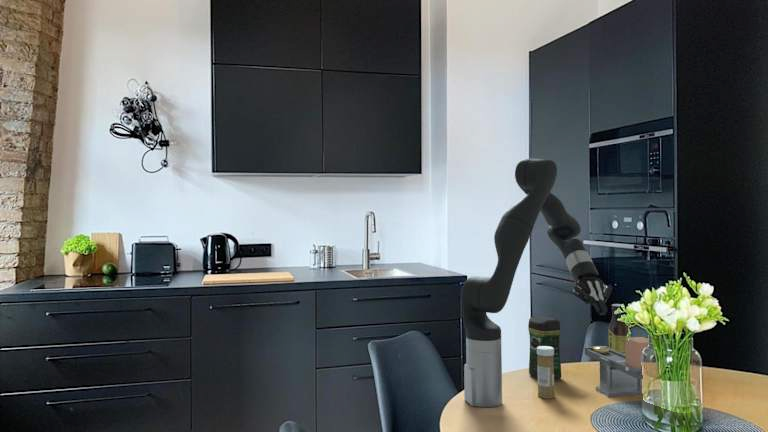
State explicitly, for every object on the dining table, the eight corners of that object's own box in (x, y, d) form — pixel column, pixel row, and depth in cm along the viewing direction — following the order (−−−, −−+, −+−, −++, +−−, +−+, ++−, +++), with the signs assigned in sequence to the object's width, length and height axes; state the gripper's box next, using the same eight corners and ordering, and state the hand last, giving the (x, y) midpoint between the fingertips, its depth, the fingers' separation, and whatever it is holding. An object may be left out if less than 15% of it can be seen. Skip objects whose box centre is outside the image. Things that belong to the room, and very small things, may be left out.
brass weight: (598, 355, 164) (598, 349, 164) (590, 351, 168) (590, 346, 168) (612, 354, 165) (612, 348, 165) (603, 350, 169) (603, 345, 169)
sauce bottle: (611, 361, 189) (611, 302, 189) (631, 364, 186) (630, 304, 186) (606, 365, 184) (605, 305, 184) (627, 368, 180) (626, 306, 180)
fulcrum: (607, 396, 152) (607, 361, 152) (595, 390, 158) (595, 356, 158) (647, 394, 155) (647, 359, 155) (634, 387, 160) (634, 354, 160)
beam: (636, 380, 143) (636, 370, 143) (582, 355, 169) (582, 347, 169) (665, 378, 144) (665, 368, 144) (608, 353, 170) (608, 345, 170)
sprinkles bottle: (558, 397, 153) (557, 347, 153) (546, 400, 150) (546, 349, 151) (545, 392, 157) (544, 344, 157) (533, 395, 154) (533, 346, 154)
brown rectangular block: (639, 373, 144) (639, 342, 144) (625, 367, 150) (625, 337, 150) (657, 372, 145) (656, 341, 145) (642, 366, 151) (642, 336, 151)
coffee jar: (566, 380, 169) (565, 318, 169) (544, 383, 166) (543, 320, 166) (545, 372, 178) (544, 313, 178) (524, 374, 175) (523, 315, 175)
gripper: (566, 260, 174) (587, 306, 161) (605, 259, 176) (629, 304, 164) (558, 276, 179) (578, 321, 167) (596, 275, 181) (619, 319, 169)
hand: (603, 313), depth 165 cm, fingers closed
